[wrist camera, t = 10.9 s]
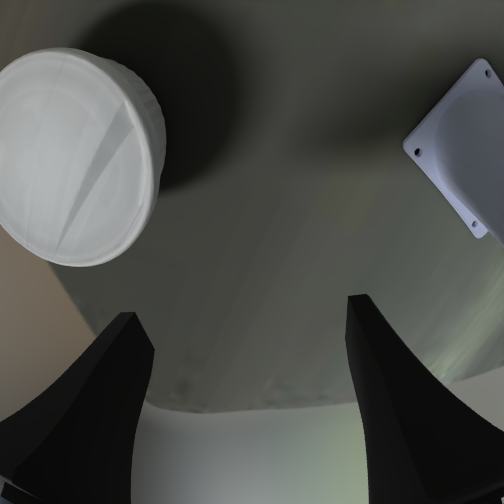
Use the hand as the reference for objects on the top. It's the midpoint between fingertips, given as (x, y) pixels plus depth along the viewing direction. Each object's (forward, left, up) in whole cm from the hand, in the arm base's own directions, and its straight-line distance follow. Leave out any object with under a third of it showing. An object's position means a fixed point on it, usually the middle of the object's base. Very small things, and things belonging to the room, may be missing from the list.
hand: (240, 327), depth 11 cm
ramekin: (+10, +2, -10) cm, 14 cm away
